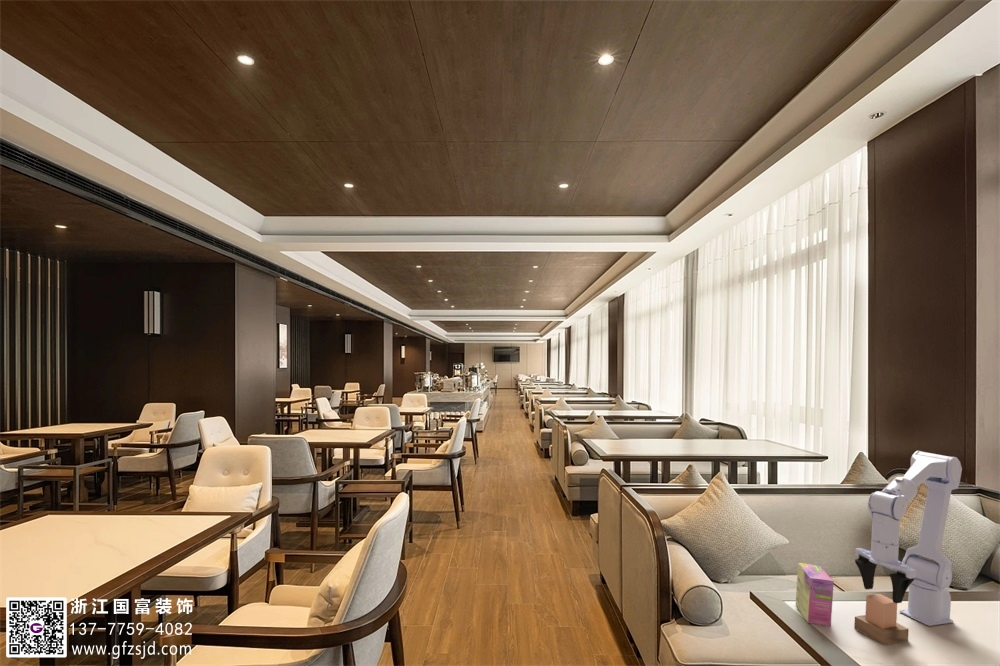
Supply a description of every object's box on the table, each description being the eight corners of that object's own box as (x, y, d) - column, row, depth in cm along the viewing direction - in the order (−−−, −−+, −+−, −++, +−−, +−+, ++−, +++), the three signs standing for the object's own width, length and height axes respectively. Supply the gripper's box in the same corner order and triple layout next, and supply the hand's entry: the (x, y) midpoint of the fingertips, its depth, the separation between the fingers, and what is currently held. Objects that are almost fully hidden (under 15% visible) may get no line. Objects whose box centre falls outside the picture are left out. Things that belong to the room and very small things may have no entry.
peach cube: (878, 617, 146) (879, 593, 146) (896, 626, 141) (897, 601, 141) (865, 619, 144) (866, 595, 144) (882, 628, 140) (884, 603, 140)
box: (831, 626, 146) (834, 580, 146) (807, 623, 147) (809, 577, 147) (817, 608, 156) (819, 565, 156) (795, 605, 157) (797, 562, 157)
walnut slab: (877, 624, 148) (878, 613, 148) (908, 640, 140) (908, 628, 140) (854, 628, 145) (854, 616, 145) (884, 644, 138) (884, 632, 138)
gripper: (847, 532, 149) (844, 584, 149) (901, 553, 135) (899, 610, 135) (867, 530, 151) (864, 581, 151) (923, 551, 137) (920, 607, 137)
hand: (882, 595), depth 143 cm, fingers open, 7 cm apart
